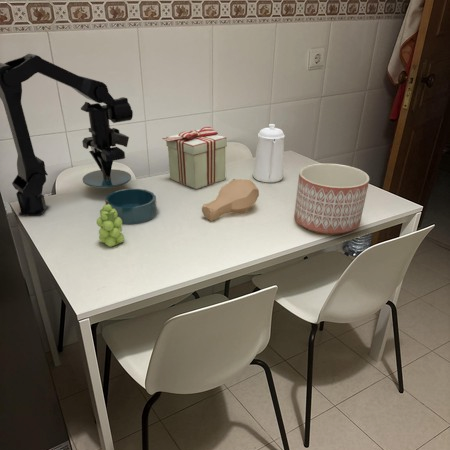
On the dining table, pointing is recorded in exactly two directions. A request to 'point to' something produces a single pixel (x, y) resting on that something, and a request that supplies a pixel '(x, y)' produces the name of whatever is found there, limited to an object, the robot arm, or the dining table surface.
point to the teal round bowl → (133, 205)
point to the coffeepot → (269, 155)
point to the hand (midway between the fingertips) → (106, 174)
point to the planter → (330, 198)
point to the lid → (106, 178)
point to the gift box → (197, 157)
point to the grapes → (110, 226)
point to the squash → (232, 199)
